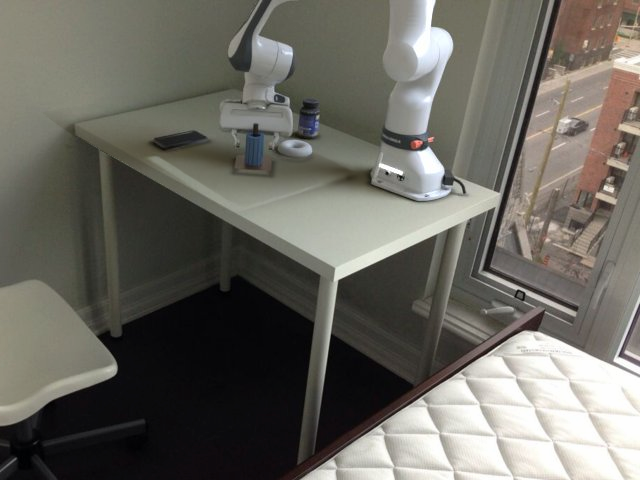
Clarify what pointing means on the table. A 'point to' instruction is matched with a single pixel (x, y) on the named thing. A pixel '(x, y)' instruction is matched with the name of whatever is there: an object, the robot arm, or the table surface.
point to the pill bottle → (309, 119)
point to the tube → (254, 149)
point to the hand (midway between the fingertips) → (254, 148)
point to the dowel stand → (263, 167)
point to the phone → (179, 140)
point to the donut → (294, 148)
